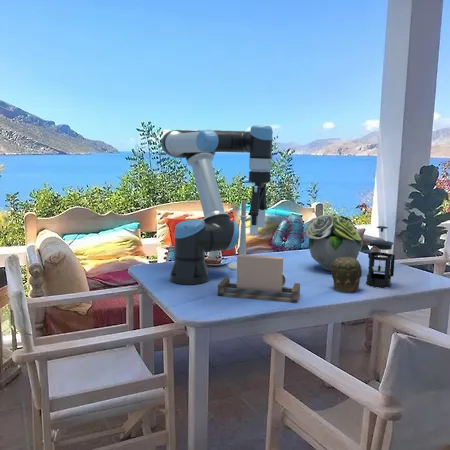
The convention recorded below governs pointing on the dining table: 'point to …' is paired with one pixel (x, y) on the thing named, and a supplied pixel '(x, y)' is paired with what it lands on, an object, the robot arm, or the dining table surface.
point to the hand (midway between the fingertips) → (257, 230)
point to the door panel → (259, 273)
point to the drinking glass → (283, 280)
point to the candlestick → (241, 236)
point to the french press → (376, 278)
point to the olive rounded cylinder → (346, 274)
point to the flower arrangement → (332, 239)
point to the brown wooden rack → (258, 292)
